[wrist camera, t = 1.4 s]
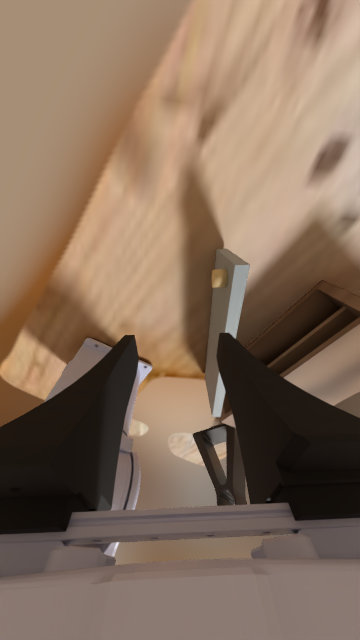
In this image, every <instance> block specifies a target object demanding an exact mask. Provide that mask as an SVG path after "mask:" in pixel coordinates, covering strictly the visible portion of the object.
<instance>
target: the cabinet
mask: <svg viewBox="0 0 360 640" xmlns="http://www.w3.org/2000/svg"><path fill="white" fill-rule="evenodd" d="M246 349H247V350H248V351H249V352H250V353H251V354H252V355H253V356H255V357H256V358H257V359H258V360H260V361H261V362H262V363H263V364H265V365H266V366H267V367H268V368H270V369H271V370H273V371H274V372H275V373H277V374H278V375H280V376H281V377H283V378H284V379H286V380H287V381H289V382H291V383H292V384H294V385H296V386H297V387H299V388H301V389H302V390H304V391H306V392H308V393H309V394H311V395H313V396H315V397H317V398H319V399H321V400H323V401H325V402H327V403H329V404H331V405H333V406H334V405H336V404H338V403H339V402H341V401H343V400H345V399H347V398H349V397H350V396H352V395H354V394H356V393H358V392H360V297H359V296H357V295H354V294H352V293H350V292H348V291H346V290H343V289H341V288H339V287H337V286H335V285H333V284H330V283H328V282H326V281H324V280H322V281H321V282H320V283H318V284H317V285H316V286H315V287H314V288H313V289H312V290H311V291H310V292H308V293H307V294H306V295H305V296H304V297H303V298H302V299H301V300H299V301H298V302H297V303H296V304H295V305H294V306H293V307H292V308H290V309H289V310H288V311H287V312H286V313H285V314H284V315H283V316H282V317H280V318H279V319H278V320H277V321H276V322H275V323H274V324H273V325H271V326H270V327H269V328H268V329H267V330H266V331H265V332H264V333H263V334H261V335H260V336H259V337H258V338H257V339H256V340H255V341H254V342H252V343H251V344H250V345H249V346H248V347H247V348H246ZM220 421H221V422H222V423H224V424H227V425H229V426H232V427H235V428H236V426H235V422H234V418H233V413H232V409H231V406H230V403H229V400H228V397H227V394H226V391H225V396H224V402H223V407H222V412H221V417H220Z"/></svg>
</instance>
